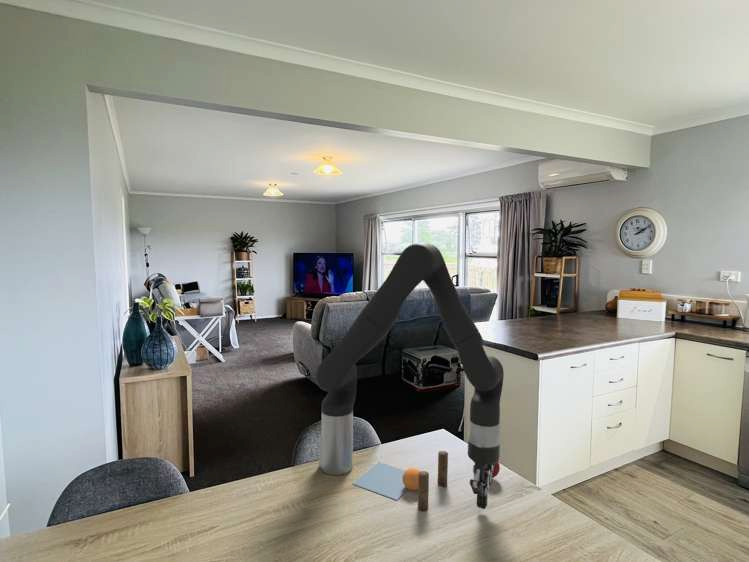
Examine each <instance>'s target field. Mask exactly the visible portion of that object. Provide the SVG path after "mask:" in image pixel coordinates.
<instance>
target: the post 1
mask: <svg viewBox="0 0 749 562" xmlns="http://www.w3.org/2000/svg"><path fill="white" fill-rule="evenodd" d="M419 471H420V470H419ZM429 477H430V474H429V472H428V471H424V470H421V471H420V472H419V473H418V489H417V509H418V511H420V512H427V511H428V510H429V488H430V487H429V485H430V483H429V482H430V478H429Z"/></svg>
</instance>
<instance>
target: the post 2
mask: <svg viewBox="0 0 749 562" xmlns="http://www.w3.org/2000/svg"><path fill="white" fill-rule="evenodd" d="M437 455H438V457H437V459H438V460H437V486H438V487H440V488H445V487H448V470H449V469H448V467H449V466H448V465H449V463H448V462H449V461H448V460H449V453H448V452H447V451H446V450H439V451H438V454H437Z"/></svg>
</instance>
